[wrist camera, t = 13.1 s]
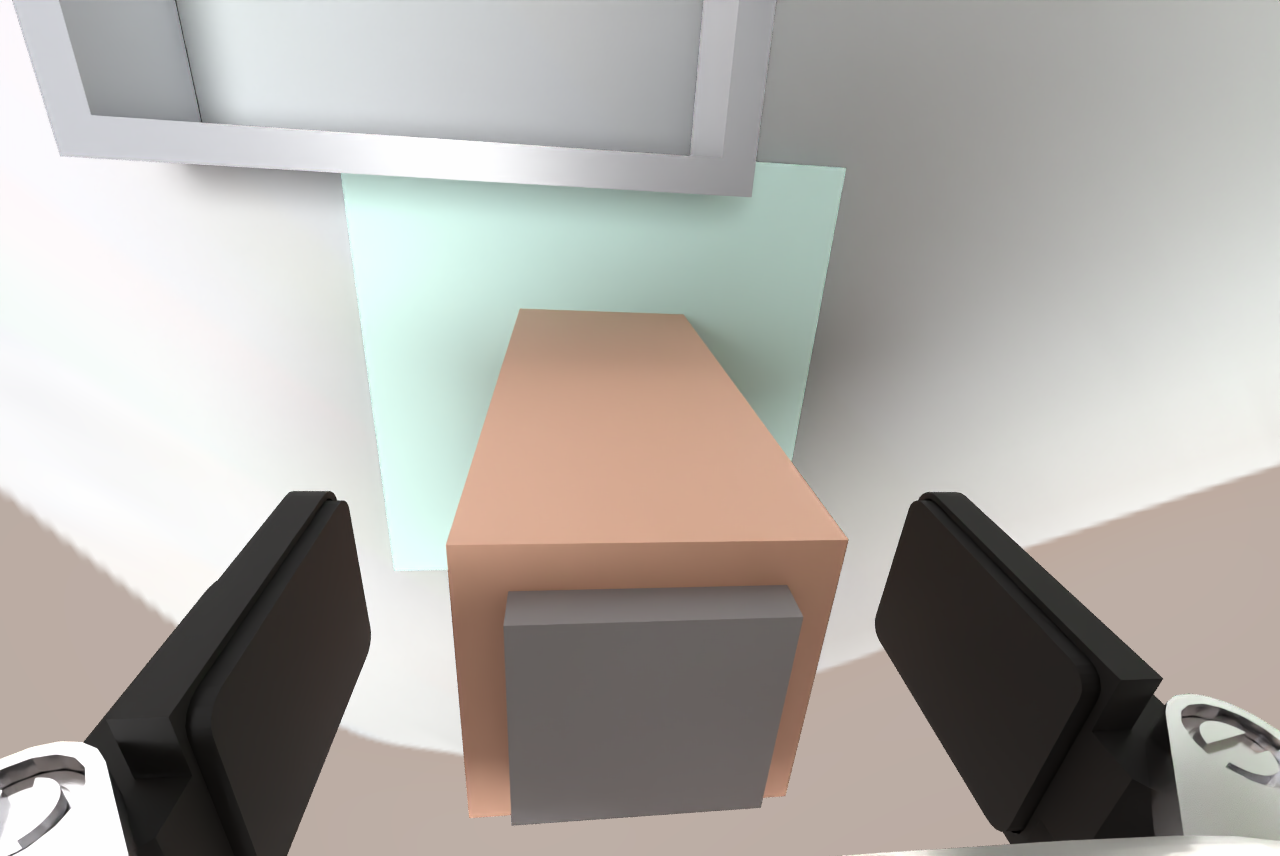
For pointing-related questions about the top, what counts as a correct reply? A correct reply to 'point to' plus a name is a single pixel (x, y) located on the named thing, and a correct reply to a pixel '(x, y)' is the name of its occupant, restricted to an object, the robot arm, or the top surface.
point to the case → (173, 133)
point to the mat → (566, 303)
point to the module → (631, 580)
